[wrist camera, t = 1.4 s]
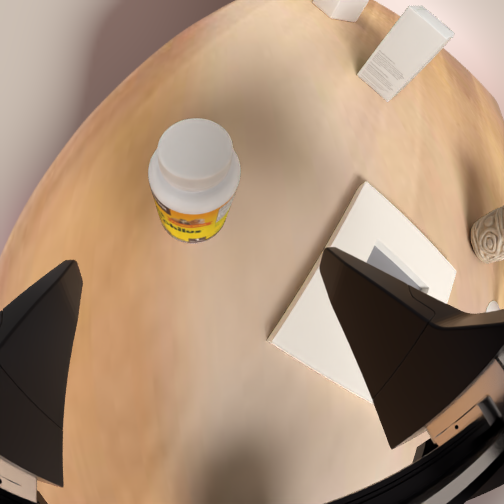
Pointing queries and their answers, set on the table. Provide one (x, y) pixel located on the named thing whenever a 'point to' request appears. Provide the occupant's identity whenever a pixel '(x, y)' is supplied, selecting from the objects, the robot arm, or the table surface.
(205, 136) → the supplement bottle
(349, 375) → the socket plate
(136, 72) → the table surface
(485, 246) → the carving
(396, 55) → the skincare box
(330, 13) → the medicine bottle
